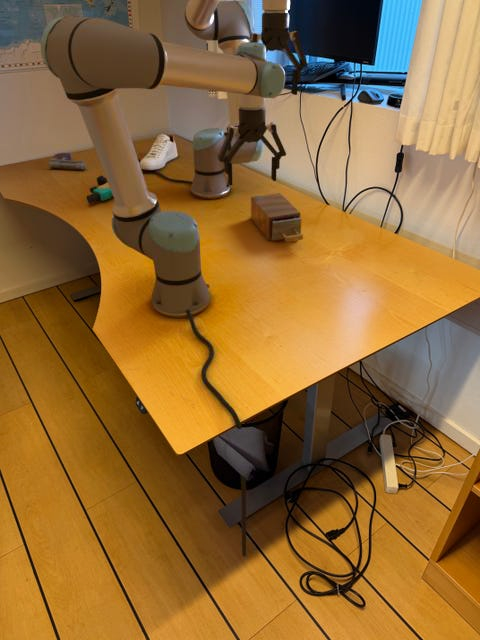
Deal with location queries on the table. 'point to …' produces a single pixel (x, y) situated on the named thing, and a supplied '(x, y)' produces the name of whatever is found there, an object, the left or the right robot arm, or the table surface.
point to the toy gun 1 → (66, 162)
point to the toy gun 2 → (100, 191)
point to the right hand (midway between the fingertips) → (273, 95)
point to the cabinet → (270, 211)
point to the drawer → (286, 229)
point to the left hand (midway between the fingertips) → (252, 181)
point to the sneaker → (160, 153)
